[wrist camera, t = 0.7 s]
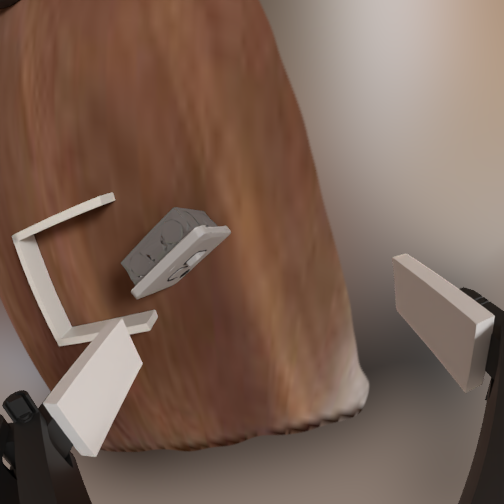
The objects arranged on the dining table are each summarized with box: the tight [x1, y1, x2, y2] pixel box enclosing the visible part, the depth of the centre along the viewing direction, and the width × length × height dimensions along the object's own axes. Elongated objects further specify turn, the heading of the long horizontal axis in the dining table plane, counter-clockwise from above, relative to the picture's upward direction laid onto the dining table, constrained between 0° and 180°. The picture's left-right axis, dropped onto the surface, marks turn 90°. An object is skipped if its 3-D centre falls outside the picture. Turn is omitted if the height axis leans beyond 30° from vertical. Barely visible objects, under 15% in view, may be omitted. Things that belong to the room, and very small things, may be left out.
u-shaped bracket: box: [12, 192, 158, 346], centre depth 34 cm, size 16×15×4 cm
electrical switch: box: [121, 207, 231, 299], centre depth 30 cm, size 9×5×9 cm, turn 132°
